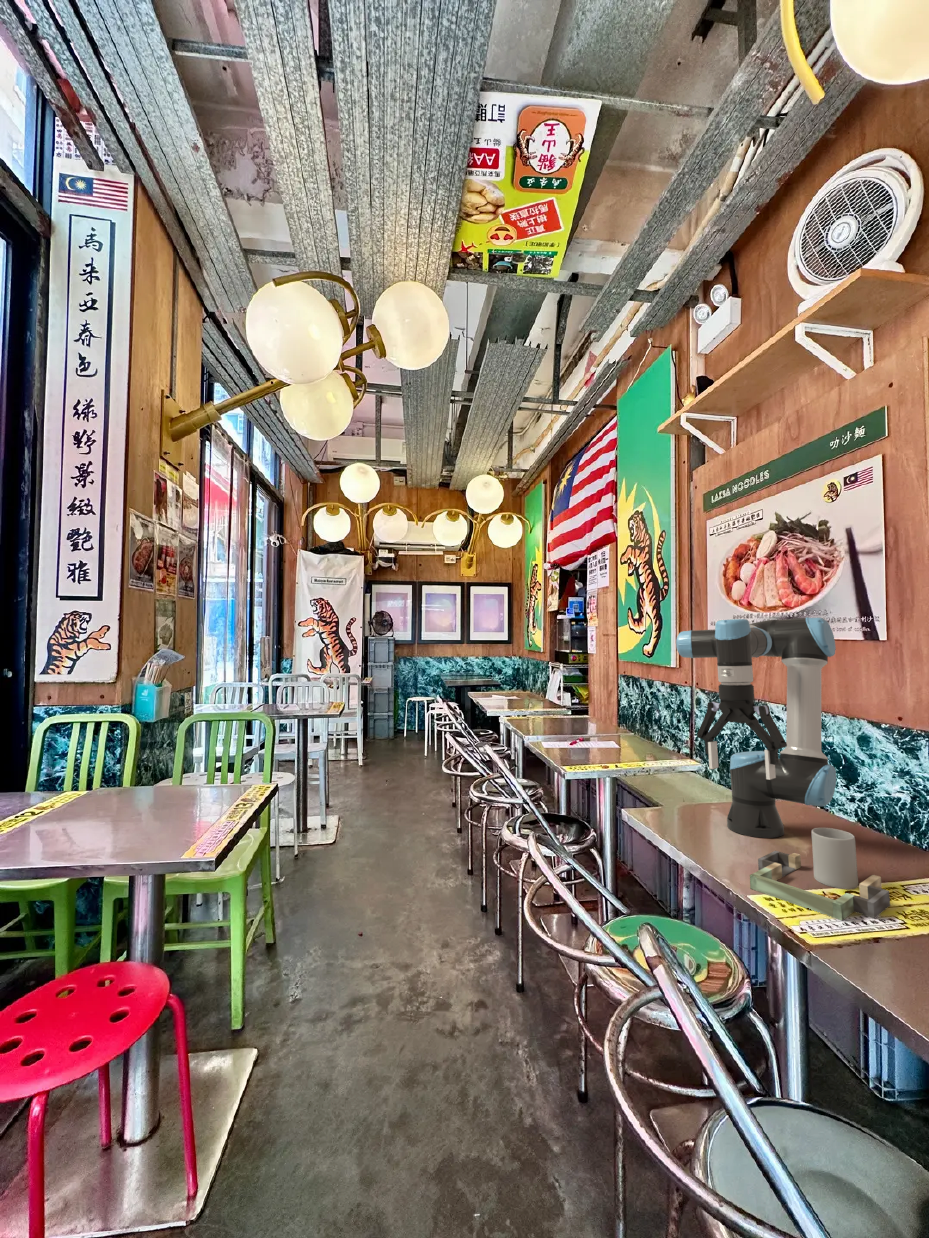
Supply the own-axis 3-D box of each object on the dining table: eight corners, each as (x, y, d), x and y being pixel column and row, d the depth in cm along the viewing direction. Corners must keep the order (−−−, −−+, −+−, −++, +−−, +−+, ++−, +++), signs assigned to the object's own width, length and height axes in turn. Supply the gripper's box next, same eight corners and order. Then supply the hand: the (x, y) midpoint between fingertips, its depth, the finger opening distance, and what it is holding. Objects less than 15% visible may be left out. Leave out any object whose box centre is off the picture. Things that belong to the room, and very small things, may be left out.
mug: (863, 891, 116) (860, 841, 117) (818, 885, 120) (815, 837, 121) (848, 871, 127) (845, 825, 128) (807, 866, 131) (804, 821, 132)
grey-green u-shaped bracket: (779, 860, 134) (779, 848, 135) (901, 896, 114) (900, 882, 114) (735, 883, 122) (734, 870, 122) (862, 927, 101) (861, 911, 102)
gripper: (679, 682, 133) (684, 766, 132) (783, 686, 113) (789, 786, 111) (696, 680, 137) (701, 762, 136) (799, 684, 117) (806, 780, 115)
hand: (741, 773), depth 124 cm, fingers open, 13 cm apart
